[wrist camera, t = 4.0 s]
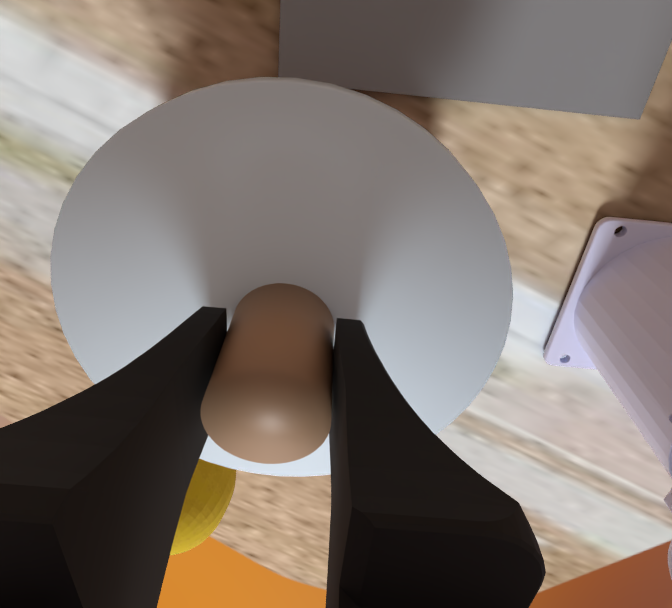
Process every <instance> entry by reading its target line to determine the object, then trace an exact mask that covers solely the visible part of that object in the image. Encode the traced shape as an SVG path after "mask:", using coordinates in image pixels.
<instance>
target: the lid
mask: <svg viewBox="0 0 672 608" xmlns="http://www.w3.org/2000/svg"><path fill="white" fill-rule="evenodd" d="M51 286H52V291H53V297H54V302H55V308H56V312H57V315H58V318H59V321H60V324H61V327H62V330H63V333H64V335H65V337H66V339H67V341H68V343H69V345H70V347H71V349H72V351H73V353H74V355H75V357H76V359H77V360H78V362H79V363H80V365H81V366H82V368H83V369H84V371H85V372H86V374H87V375H88V377H89V378H90V379H91V381H92V382H93V383H94V384H97V383H98V382H100V381H102V380H104V379H105V378H107V377H109V376H110V375H112V374H114V373H115V372H117V371H118V370H120V369H121V368H123V367H125V366H126V365H127V364H129V363H130V362H132V361H133V360H134V359H136V358H137V357H139V356H140V355H142V354H143V353H144V352H146V351H147V350H149V349H150V348H151V347H153V346H154V345H155V344H156V343H158V342H159V341H160V340H162V339H163V338H164V337H165V336H167V335H168V334H169V333H170V332H172V331H173V330H174V329H175V328H177V327H178V326H179V325H180V324H181V323H183V322H184V321H185V320H186V319H187V318H189V317H190V316H191V315H192V314H194V313H195V312H196V311H197V310H199V309H200V308H201V307H202V306H206V307H217V308H226V313H227V334H226V337H225V339H224V342H223V345H222V348H221V351H220V353H219V356H218V359H217V362H216V364H215V367H214V370H213V373H212V376H211V378H210V381H209V384H208V387H207V389H206V392H205V395H204V398H203V401H202V404H201V420H202V424H203V426H204V429H205V430H206V432H207V434H208V438H207V440H206V443H205V445H204V448H203V450H202V453H201V455H200V459H202V460H205V461H207V462H210V463H214V464H217V465H221V466H224V467H227V468H231V469H236V470H241V471H246V472H250V473H256V474H265V475H274V476H298V477H303V476H320V475H330V474H331V468H330V445H329V432H330V428H331V415H332V382H333V350H334V340H335V331H336V321H337V318H343V319H355V320H361V321H362V322H363V324H364V326H365V329H366V331H367V334H368V336H369V339H370V341H371V343H372V345H373V347H374V349H375V351H376V353H377V355H378V357H379V359H380V360H381V362H382V364H383V366H384V367H385V369H386V371H387V373H388V374H389V376H390V377H391V379H392V381H393V382H394V384H395V385H396V387H397V388H398V390H399V391H400V392H401V394H402V395H403V397H404V398H405V399H406V401H407V402H408V404H409V405H410V406H411V407H412V409H413V410H414V411H415V412H416V414H417V415H418V416H419V417H420V418H421V420H422V421H423V422H424V423H425V424H426V425H427V426H428V427H429V429H430V430H431V431H432V432H433V433H434V434H435V435H436V434H437V433H439V432H440V431H441V430H443V429H444V428H445V427H447V426H448V425H449V424H450V423H452V422H453V421H454V420H455V419H456V418H457V417H458V416H459V415H460V414H461V413H462V412H463V411H464V410H465V409H466V408H467V407H468V406H469V405H470V404H471V402H472V401H473V400H474V399H475V397H476V396H477V395H478V393H479V392H480V391H481V390H482V388H483V387H484V385H485V384H486V382H487V380H488V379H489V377H490V375H491V374H492V372H493V370H494V368H495V367H496V364H497V362H498V359H499V357H500V355H501V352H502V350H503V347H504V345H505V341H506V337H507V333H508V329H509V325H510V321H511V311H512V301H513V288H512V272H511V265H510V261H509V256H508V252H507V247H506V243H505V240H504V237H503V235H502V232H501V230H500V227H499V225H498V222H497V220H496V217H495V215H494V213H493V211H492V209H491V208H490V206H489V204H488V203H487V201H486V199H485V198H484V196H483V194H482V192H481V191H480V189H479V187H478V186H477V185H476V183H475V182H474V181H473V179H472V178H471V177H470V175H469V174H468V173H467V172H466V170H465V169H464V168H463V167H462V165H461V164H460V163H459V162H458V161H457V159H456V158H455V157H454V156H453V154H452V153H451V152H450V151H449V150H448V149H447V148H446V147H445V146H444V145H443V144H442V143H440V142H439V141H438V140H437V139H436V138H435V137H434V136H433V135H432V134H431V133H429V132H428V131H427V130H426V129H425V128H424V127H422V126H421V125H419V124H418V123H416V122H415V121H413V120H412V119H410V118H409V117H407V116H406V115H404V114H403V113H401V112H400V111H398V110H397V109H395V108H393V107H391V106H388V105H386V104H384V103H382V102H380V101H378V100H376V99H374V98H372V97H370V96H368V95H366V94H363V93H359V92H356V91H353V90H350V89H347V88H344V87H341V86H337V85H334V84H331V83H325V82H319V81H313V80H307V79H301V78H288V77H255V78H247V79H238V80H230V81H224V82H220V83H217V84H213V85H210V86H206V87H202V88H199V89H195V90H192V91H190V92H187V93H185V94H183V95H181V96H179V97H176V98H174V99H172V100H170V101H167V102H165V103H163V104H161V105H159V106H157V107H155V108H153V109H151V110H150V111H148V112H146V113H145V114H143V115H142V116H140V117H139V118H137V119H136V120H134V121H132V122H131V123H129V124H128V125H126V126H125V127H123V128H122V129H120V130H119V131H118V132H117V133H116V134H115V135H113V136H112V137H111V138H110V139H109V140H108V141H107V142H106V143H105V144H104V145H103V146H102V147H100V148H99V149H98V150H97V151H96V152H95V153H94V155H93V156H92V157H91V159H90V160H89V161H88V162H87V164H86V165H85V166H84V168H83V169H82V170H81V172H80V173H79V174H78V176H77V177H76V179H75V181H74V183H73V185H72V186H71V188H70V190H69V192H68V194H67V196H66V198H65V200H64V202H63V204H62V207H61V210H60V214H59V217H58V220H57V223H56V226H55V229H54V236H53V243H52V250H51Z"/></svg>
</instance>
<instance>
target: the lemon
mask: <svg viewBox="0 0 672 608" xmlns="http://www.w3.org/2000/svg"><path fill="white" fill-rule="evenodd" d="M235 480H236V469H231V468H227V467H224V466H221V465H217V464H214V463H210V462H207V461H205V460H202V459H200V458H199V460H198V463H197V465H196V468H195V471H194V473H193V476H192V478H191V481H190V484H189V487H188V490H187V493H186V496H185V500H184V504H183V507H182V511H181V514H180V518H179V522H178V525H177V529H176V533H175V536H174V540H173V544H172V548H171V552H170V555H174V554H179V553H182V552H185V551H188V550H190V549H192V548H194V547H196V546H197V545H199V544H200V543H202V542H203V541H204V540H205V539H206V538H207V537H208V536H209V535H210V534H211V533H212V532H213V531H214V530H215V529H216V527H217V526H218V524H219V522H220V521H221V519H222V517H223V515H224V513H225V511H226V509H227V507H228V505H229V503H230V500H231V497H232V494H233V491H234V487H235Z"/></svg>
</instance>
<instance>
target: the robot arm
mask: <svg viewBox="0 0 672 608" xmlns="http://www.w3.org/2000/svg"><path fill="white" fill-rule="evenodd" d="M620 226H623V227H622V230H621V231H620V232H619V233H616V234H614V231H615V230H616V228H618V227H620ZM226 334H227V313H226V308H217V307H206V306H202V307H201V308H200V309H199V310H197V311H196V312H195V313H194V314H192V315H191V316H190V317H189V318H187V319H186V320H185V321H184V322H183V323H181V324H180V325H179V326H178V327H177V328H175V329H174V330H173V331H172V332H170V333H169V334H168V335H167V336H165V337H164V338H163V339H162V340H160V341H159V342H158V343H156V344H155V345H154V346H153V347H151V348H150V349H149V350H147V351H146V352H144V353H143V354H142V355H140V356H139V357H137V358H136V359H134V360H133V361H132V362H130V363H129V364H127V365H126V366H125V367H123V368H121V369H120V370H118V371H117V372H115V373H114V374H112V375H110V376H109V377H107V378H105V379H104V380H102V381H100V382H98V383H97V384H95V385H93V386H91V387H90V388H88V389H86V390H84V391H82V392H80V393H78V394H76V395H74V396H72V397H70V398H68V399H66V400H64V401H62V402H60V403H58V404H56V405H54V406H52V407H50V408H48V409H46V410H44V411H41V412H39V413H37V414H34V415H32V416H30V417H27V418H25V419H23V420H20V421H18V422H15V423H13V424H10V425H8V426H5V427H3V428H0V608H157V603H158V600H159V595H160V591H161V587H162V583H163V579H164V575H165V571H166V567H167V563H168V559H169V555H170V552H171V548H172V544H173V540H174V536H175V533H176V529H177V525H178V522H179V518H180V514H181V511H182V507H183V504H184V500H185V496H186V493H187V490H188V487H189V484H190V481H191V478H192V476H193V473H194V471H195V468H196V465H197V463H198V460H199V458H200V455H201V453H202V450H203V448H204V445H205V443H206V440H207V438H208V434H207V432H206V430H205V429H204V426H203V424H202V420H201V404H202V401H203V398H204V395H205V392H206V389H207V387H208V384H209V381H210V378H211V376H212V373H213V370H214V367H215V364H216V362H217V359H218V356H219V353H220V351H221V348H222V345H223V342H224V339H225V337H226ZM564 355H567V356H566V357H564V358H561V357H562V356H564ZM543 357H544V360H545V361H546V363H547V364H549V365H554V366H565V367H576V368H587V369H597V370H598V371H599V373H600V374H601V375H602V377H603V378H604V380H605V381H606V383H607V384H608V386H609V387H610V389H611V390H612V392H613V393H614V395H615V396H616V397H617V399H618V400H619V402H620V403H621V405H622V406H623V408H624V409H625V411H626V412H627V414H628V415H629V417H630V418H631V419H632V421H633V422H634V424H635V425H636V427H637V428H638V430H639V431H640V433H641V434H642V436H643V437H644V439H645V440H646V441H647V443H648V444H649V446H650V447H651V449H652V450H653V452H654V453H655V455H656V456H657V458H658V459H659V461H660V462H661V463H662V465H663V466H664V468H665V469H666V471H667V472H668V474H669V475H670V477H671V478H672V223H667V222H657V221H647V220H637V219H628V218H618V217H605V218H602V219H600V220H599V221H598V222H597V223H596V225H595V226H594V229H593V231H592V234H591V236H590V239H589V241H588V244H587V246H586V249H585V251H584V254H583V256H582V259H581V261H580V264H579V266H578V269H577V271H576V273H575V276H574V278H573V281H572V283H571V286H570V288H569V291H568V293H567V296H566V298H565V301H564V303H563V306H562V308H561V311H560V313H559V316H558V318H557V321H556V323H555V326H554V328H553V331H552V333H551V336H550V338H549V341H548V343H547V346H546V348H545V351H544V353H543ZM329 445H330V468H331V521H330V540H329V558H328V576H327V594H326V608H529V606H530V604H531V603H532V601H533V599H534V597H535V596H536V594H537V592H538V590H539V589H540V587H541V585H542V582H543V579H544V576H545V573H546V571H545V565H544V560H543V557H542V554H541V551H540V548H539V545H538V543H537V540H536V538H535V535H534V533H533V531H532V529H531V527H530V524H529V522H528V520H527V518H526V516H525V514H524V512H523V510H522V508H521V506H520V504H519V503H518V502H517V501H516V500H514V499H513V498H511V497H510V496H509V495H507V494H506V493H504V492H503V491H502V490H500V489H499V488H497V487H496V486H495V485H493V484H492V483H491V482H489V481H488V480H486V479H485V478H484V477H482V476H481V475H480V474H478V473H477V472H476V471H475V470H474V469H472V468H471V467H470V466H469V465H468V464H466V463H465V462H464V461H463V460H462V459H460V458H459V457H458V456H457V455H456V454H455V453H454V452H453V451H452V450H451V449H450V448H448V447H447V446H446V445H445V444H444V443H443V442H442V441H441V440H440V439H439V438H438V437H437V436H436V435H435V434H434V433H433V432H432V431H431V430H430V429H429V427H428V426H427V425H426V424H425V423H424V422H423V421H422V420H421V418H420V417H419V416H418V415H417V414H416V412H415V411H414V410H413V409H412V407H411V406H410V405H409V404H408V402H407V401H406V399H405V398H404V397H403V395H402V394H401V392H400V391H399V390H398V388H397V387H396V385H395V384H394V382H393V381H392V379H391V377H390V376H389V374H388V373H387V371H386V369H385V367H384V366H383V364H382V362H381V360H380V359H379V357H378V355H377V353H376V351H375V349H374V347H373V345H372V343H371V341H370V339H369V336H368V334H367V331H366V329H365V326H364V324H363V322H362V321H361V320H355V319H343V318H337V321H336V331H335V340H334V350H333V382H332V415H331V428H330V432H329ZM664 501H665V503H666V504H667V506H668V508H669V509H670V511H671V512H672V488H671V490H670V492H669V493H668V494H667V495H666V497H665V498H664ZM668 566H669V570H670V575H671V579H672V541H671V544H670V547H669V551H668Z"/></svg>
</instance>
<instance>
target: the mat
mask: <svg viewBox="0 0 672 608" xmlns="http://www.w3.org/2000/svg"><path fill="white" fill-rule="evenodd" d="M671 41H672V0H280V34H279V69H278V77H288V78H301V79H307V80H313V81H319V82H325V83H331V84H334V85H337V86H341V87H344V88H348V89H358V90H367V91H376V92H386V93H395V94H405V95H414V96H423V97H433V98H442V99H452V100H461V101H470V102H480V103H489V104H499V105H508V106H517V107H527V108H536V109H546V110H555V111H565V112H574V113H583V114H593V115H602V116H612V117H621V118H630V119H640V117H641V115H642V113H643V110H644V108H645V105H646V103H647V100H648V98H649V95H650V93H651V90H652V88H653V85H654V83H655V80H656V78H657V75H658V73H659V70H660V68H661V66H662V63H663V61H664V58H665V56H666V53H667V51H668V48H669V46H670V43H671Z"/></svg>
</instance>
